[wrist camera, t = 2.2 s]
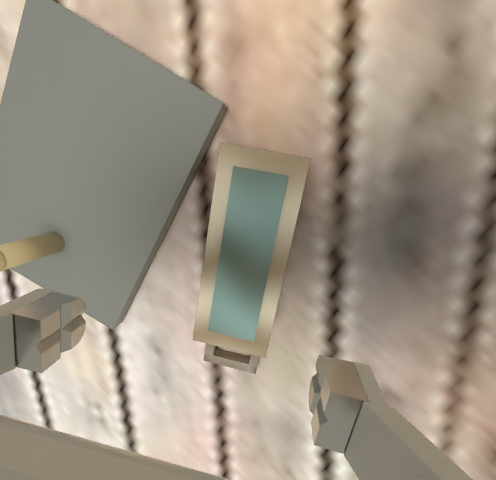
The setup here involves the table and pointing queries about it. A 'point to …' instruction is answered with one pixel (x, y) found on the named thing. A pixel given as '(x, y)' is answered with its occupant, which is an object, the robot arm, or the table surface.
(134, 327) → the table surface
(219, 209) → the frame
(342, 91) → the table surface
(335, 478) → the table surface
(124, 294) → the board
